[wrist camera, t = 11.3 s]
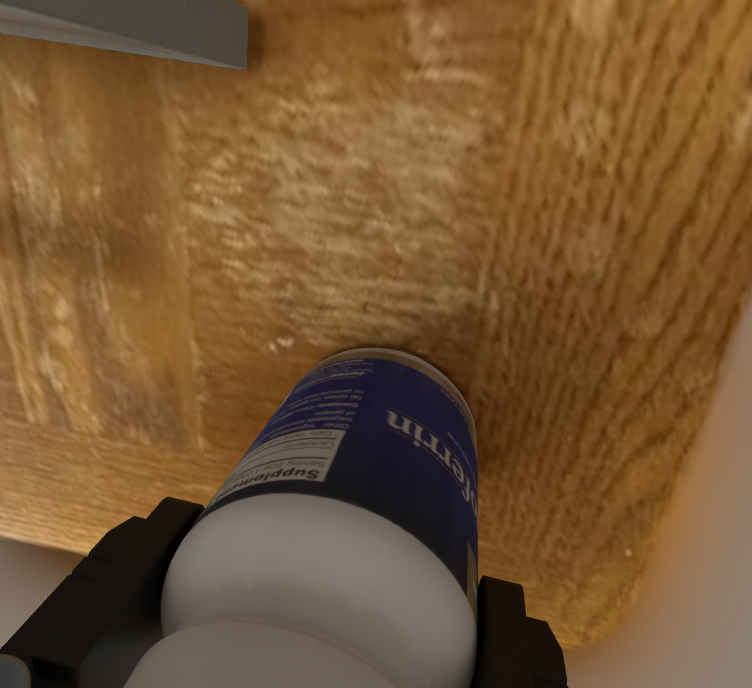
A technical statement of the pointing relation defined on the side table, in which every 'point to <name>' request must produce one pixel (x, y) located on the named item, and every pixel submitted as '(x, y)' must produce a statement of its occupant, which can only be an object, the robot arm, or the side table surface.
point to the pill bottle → (335, 543)
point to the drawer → (138, 27)
